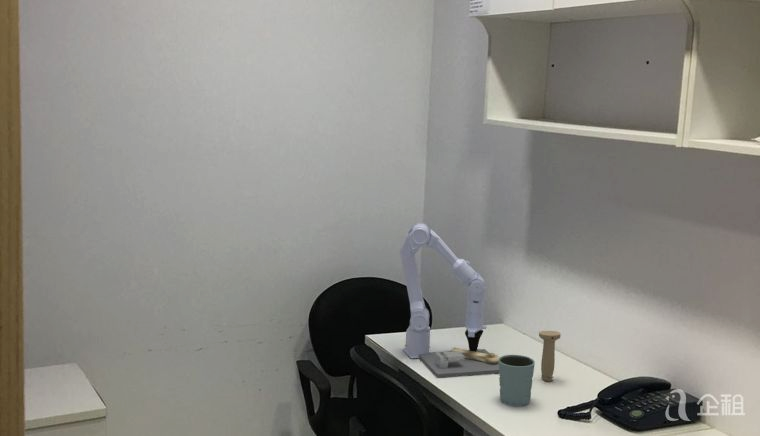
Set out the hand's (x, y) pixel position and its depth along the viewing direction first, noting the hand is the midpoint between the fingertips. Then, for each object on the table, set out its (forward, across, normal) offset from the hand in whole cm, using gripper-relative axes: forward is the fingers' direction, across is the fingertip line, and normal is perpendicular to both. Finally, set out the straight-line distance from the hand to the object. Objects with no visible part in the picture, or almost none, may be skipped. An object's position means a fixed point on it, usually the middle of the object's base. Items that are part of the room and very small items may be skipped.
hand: (473, 351), depth 250 cm
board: (+2, -8, +2) cm, 9 cm away
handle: (+2, -13, -25) cm, 28 cm away
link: (0, -5, -1) cm, 5 cm away
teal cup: (+2, -33, -16) cm, 37 cm away
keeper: (+1, -14, +6) cm, 15 cm away
